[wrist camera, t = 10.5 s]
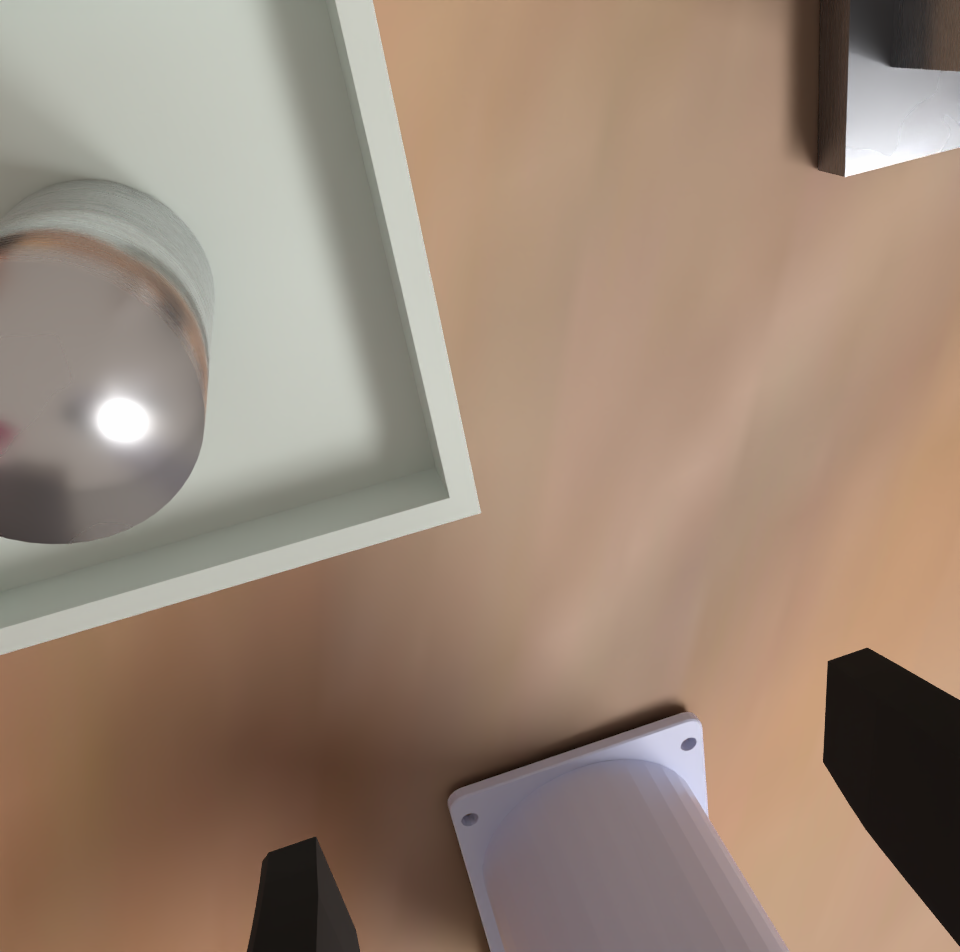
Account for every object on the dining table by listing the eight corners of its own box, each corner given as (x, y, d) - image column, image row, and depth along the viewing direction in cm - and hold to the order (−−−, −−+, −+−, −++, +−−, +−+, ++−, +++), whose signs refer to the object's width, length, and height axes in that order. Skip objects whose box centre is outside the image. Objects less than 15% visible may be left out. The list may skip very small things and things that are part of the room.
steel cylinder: (188, 167, 16) (165, 242, 11) (233, 370, 18) (231, 515, 13) (-47, 192, 15) (-191, 285, 10) (27, 401, 17) (-63, 567, 12)
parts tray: (460, 473, 21) (480, 513, 19) (-56, 621, 19) (-84, 680, 18) (330, -120, 15) (343, -139, 13) (-431, 21, 13) (-528, 22, 12)
